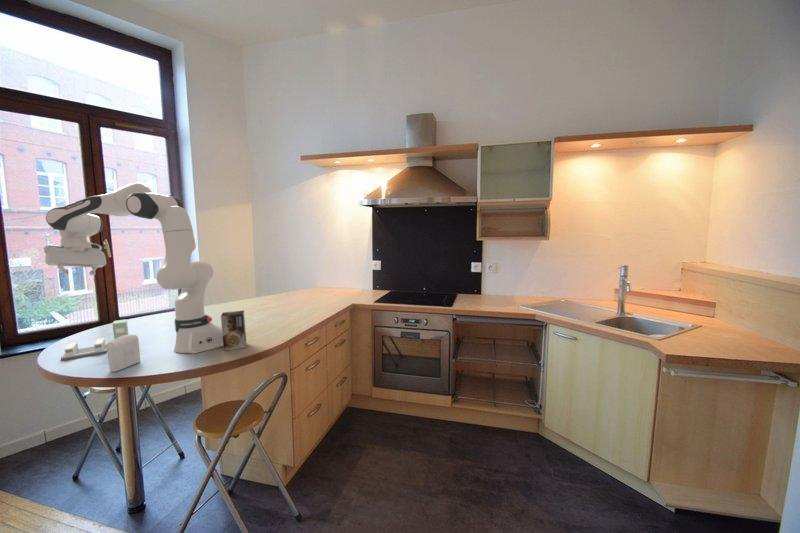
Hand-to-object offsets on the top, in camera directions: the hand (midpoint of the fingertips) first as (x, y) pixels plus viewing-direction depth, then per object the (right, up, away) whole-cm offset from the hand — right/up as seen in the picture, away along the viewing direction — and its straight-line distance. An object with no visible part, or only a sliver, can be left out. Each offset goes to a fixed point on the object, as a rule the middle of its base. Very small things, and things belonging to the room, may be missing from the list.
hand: (79, 274), depth 146 cm
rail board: (+8, -34, -5) cm, 35 cm away
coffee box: (+70, -33, +1) cm, 78 cm away
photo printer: (+37, -36, -19) cm, 55 cm away
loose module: (+17, -33, +3) cm, 38 cm away
